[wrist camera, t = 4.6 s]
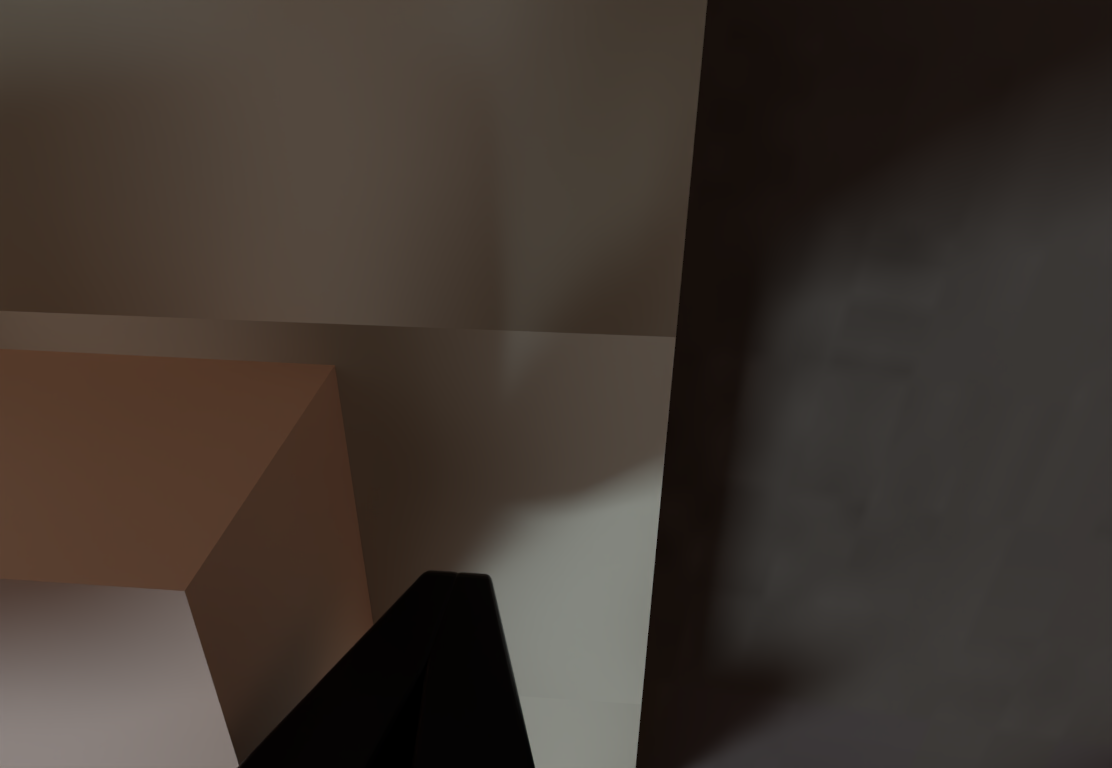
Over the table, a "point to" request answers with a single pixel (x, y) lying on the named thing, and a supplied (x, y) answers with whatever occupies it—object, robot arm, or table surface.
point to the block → (168, 555)
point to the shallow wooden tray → (395, 271)
